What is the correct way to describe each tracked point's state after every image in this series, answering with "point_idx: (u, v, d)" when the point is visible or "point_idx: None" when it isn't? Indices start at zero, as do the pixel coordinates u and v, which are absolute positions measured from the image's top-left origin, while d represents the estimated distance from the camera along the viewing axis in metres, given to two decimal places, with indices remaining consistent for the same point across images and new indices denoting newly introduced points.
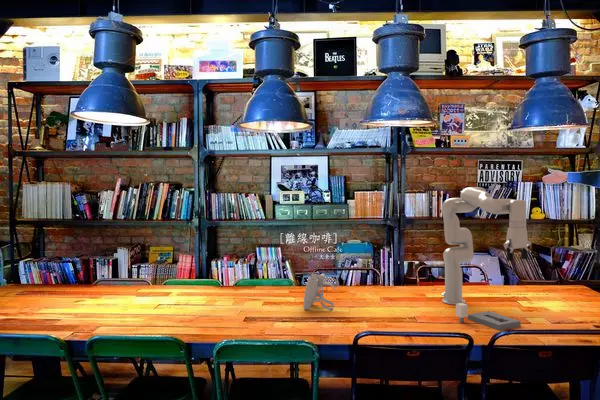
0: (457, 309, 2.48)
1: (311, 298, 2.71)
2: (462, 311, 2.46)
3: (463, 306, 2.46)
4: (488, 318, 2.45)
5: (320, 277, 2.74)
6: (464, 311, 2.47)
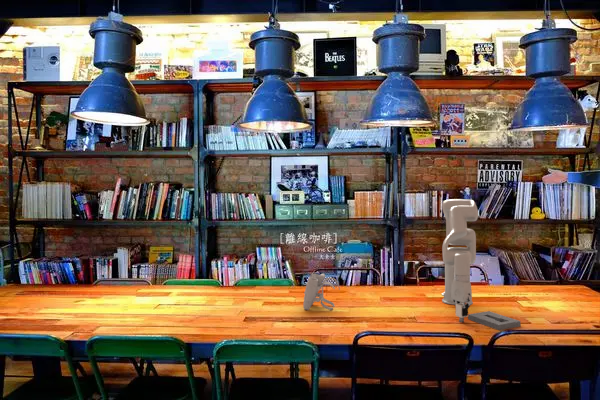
0: (457, 309, 2.48)
1: (311, 298, 2.71)
2: None
3: None
4: (488, 318, 2.45)
5: (320, 277, 2.74)
6: None
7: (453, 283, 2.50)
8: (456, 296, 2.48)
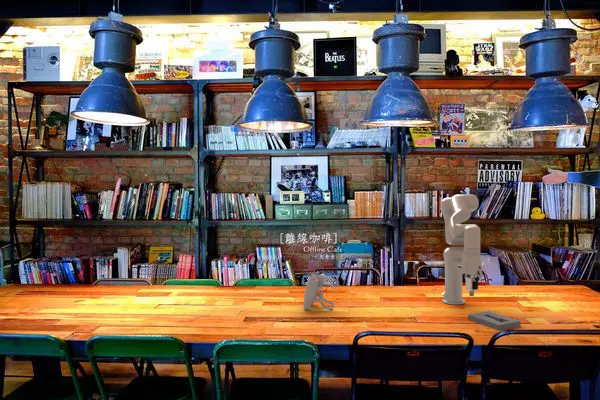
0: (467, 283, 2.46)
1: (311, 298, 2.71)
2: None
3: None
4: (488, 318, 2.45)
5: (320, 277, 2.74)
6: None
7: (463, 256, 2.48)
8: (466, 269, 2.45)
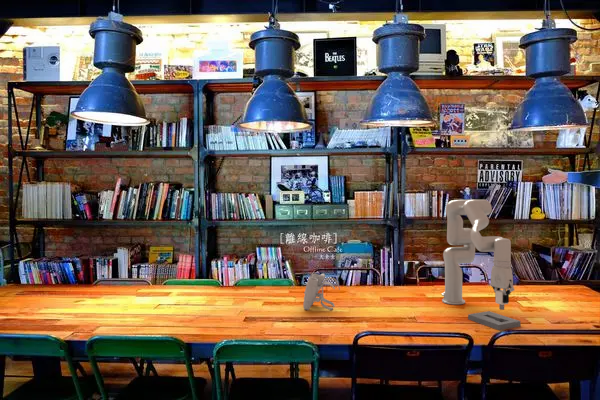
0: (497, 296, 2.41)
1: (311, 298, 2.71)
2: None
3: None
4: (488, 318, 2.45)
5: (320, 277, 2.74)
6: None
7: (493, 269, 2.43)
8: (496, 282, 2.41)
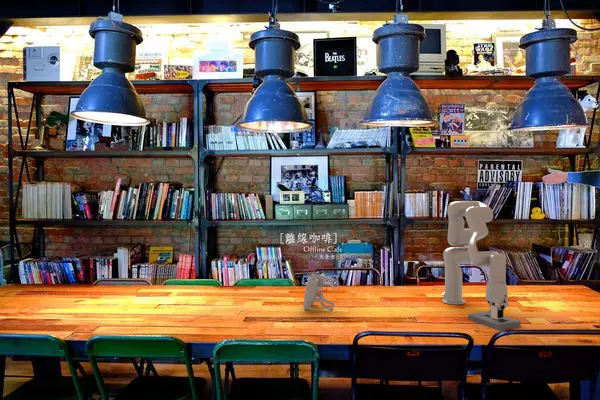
0: (492, 311, 2.45)
1: (311, 298, 2.71)
2: None
3: (498, 308, 2.43)
4: (488, 318, 2.45)
5: (320, 277, 2.74)
6: None
7: (488, 284, 2.46)
8: (491, 297, 2.44)
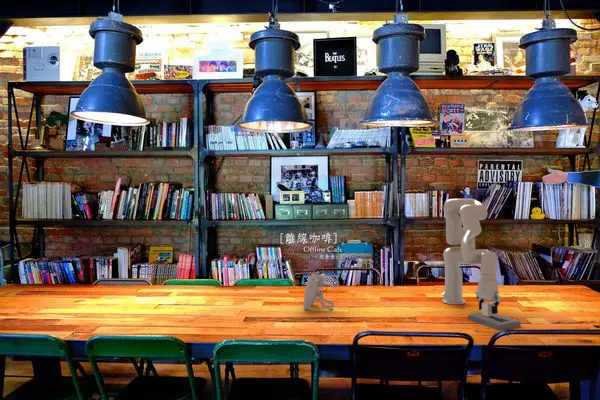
0: (483, 308, 2.50)
1: (311, 298, 2.71)
2: (489, 310, 2.48)
3: (489, 305, 2.48)
4: (488, 318, 2.45)
5: (320, 277, 2.74)
6: (490, 310, 2.48)
7: (479, 282, 2.51)
8: (483, 294, 2.49)
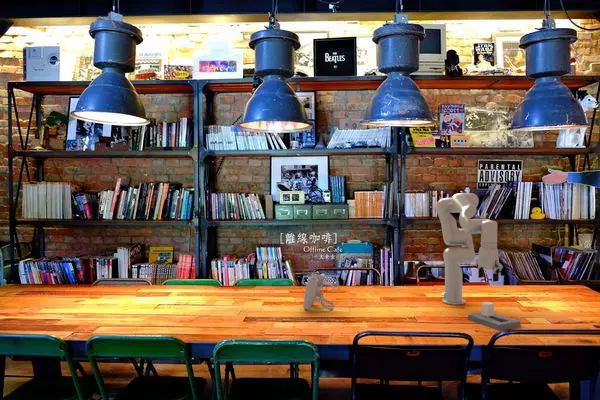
0: (483, 308, 2.50)
1: (311, 298, 2.71)
2: (489, 310, 2.48)
3: (489, 305, 2.48)
4: (488, 318, 2.45)
5: (320, 277, 2.74)
6: (490, 310, 2.48)
7: (480, 250, 2.52)
8: (483, 263, 2.50)
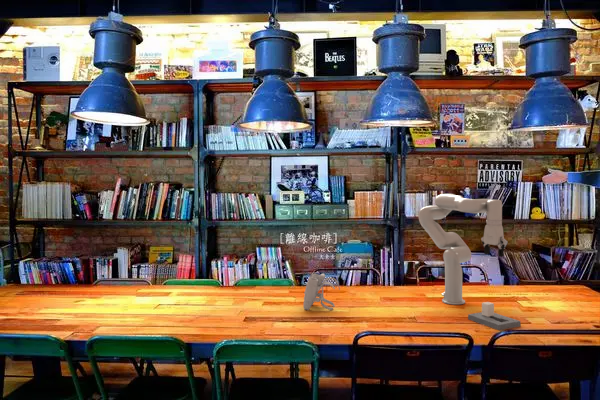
0: (483, 308, 2.50)
1: (311, 298, 2.71)
2: (489, 310, 2.48)
3: (489, 305, 2.48)
4: (488, 318, 2.45)
5: (320, 277, 2.74)
6: (490, 310, 2.48)
7: (486, 228, 2.66)
8: (489, 240, 2.64)
